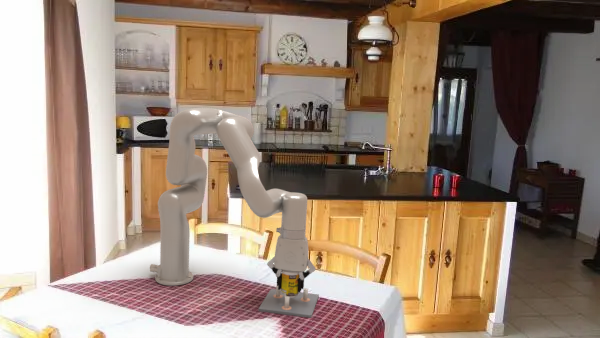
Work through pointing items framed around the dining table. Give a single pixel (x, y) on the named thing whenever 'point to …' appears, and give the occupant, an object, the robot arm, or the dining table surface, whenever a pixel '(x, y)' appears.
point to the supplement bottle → (289, 283)
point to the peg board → (289, 303)
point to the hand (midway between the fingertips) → (290, 288)
